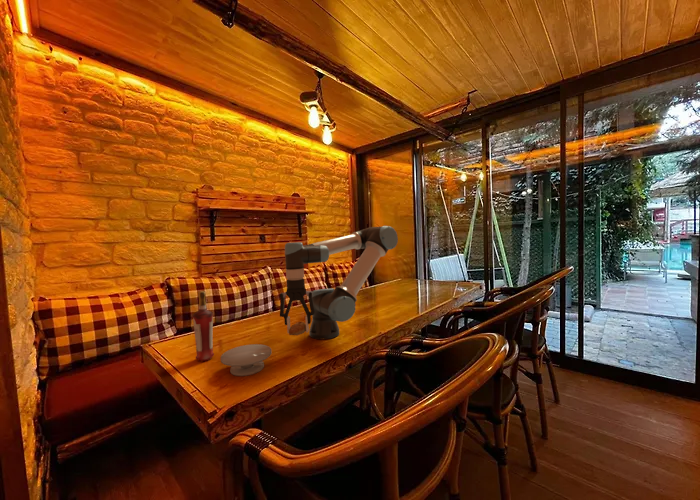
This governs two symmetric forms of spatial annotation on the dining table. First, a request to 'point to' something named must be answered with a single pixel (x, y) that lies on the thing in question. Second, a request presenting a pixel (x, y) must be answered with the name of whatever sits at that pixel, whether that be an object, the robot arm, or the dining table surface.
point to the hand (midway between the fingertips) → (298, 331)
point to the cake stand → (246, 359)
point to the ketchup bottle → (203, 330)
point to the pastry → (297, 328)
